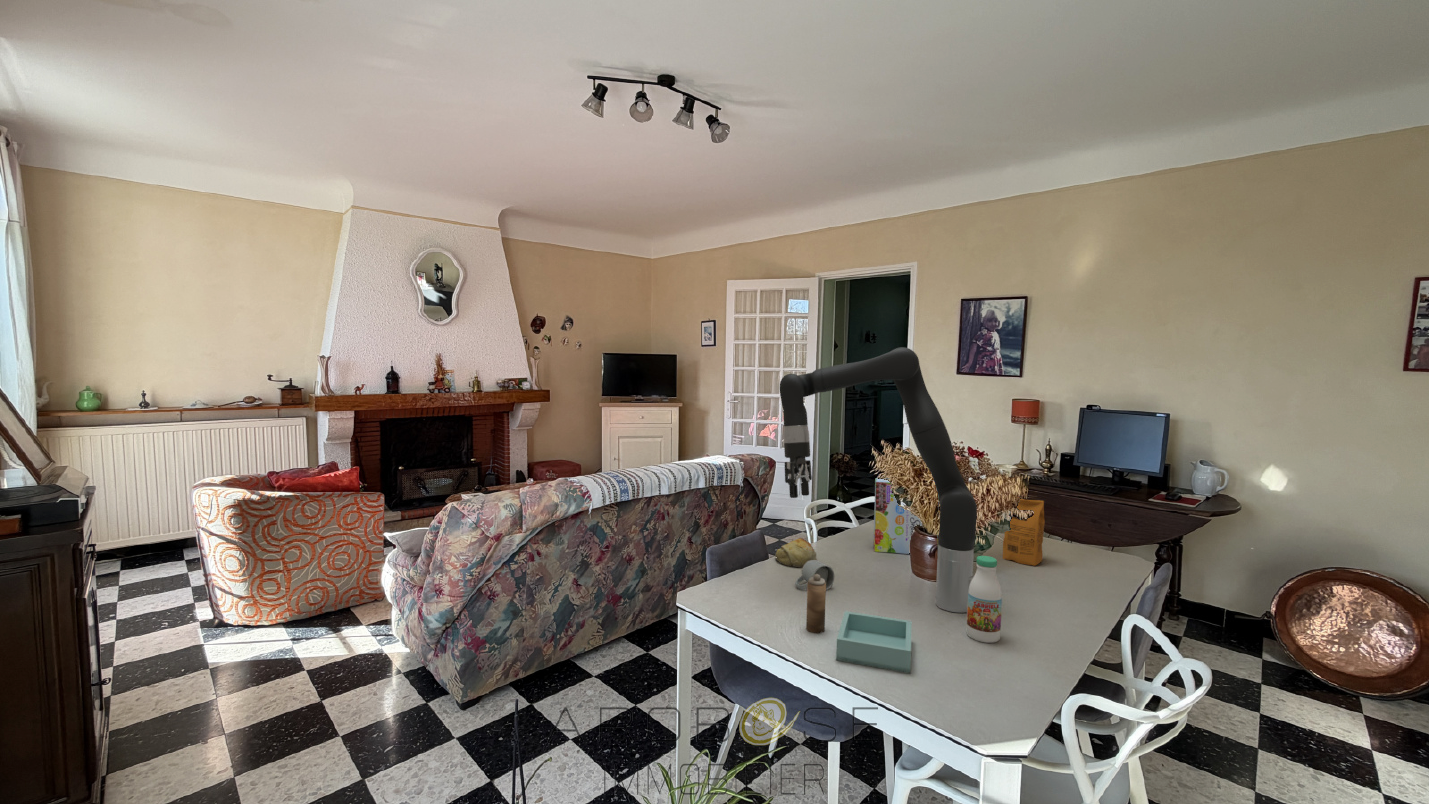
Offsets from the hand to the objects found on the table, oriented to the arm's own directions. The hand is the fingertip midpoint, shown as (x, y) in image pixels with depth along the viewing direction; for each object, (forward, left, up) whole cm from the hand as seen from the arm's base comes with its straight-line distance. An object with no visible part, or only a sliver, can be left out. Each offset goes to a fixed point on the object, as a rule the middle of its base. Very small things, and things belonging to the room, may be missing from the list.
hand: (799, 496), depth 173 cm
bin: (-24, +30, -28) cm, 48 cm away
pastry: (+5, -24, -28) cm, 38 cm away
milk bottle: (-49, +13, -28) cm, 58 cm away
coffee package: (-68, -55, -28) cm, 92 cm away
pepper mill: (-9, +24, -28) cm, 38 cm away
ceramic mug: (-4, -4, -28) cm, 29 cm away
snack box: (-29, -50, -28) cm, 64 cm away
